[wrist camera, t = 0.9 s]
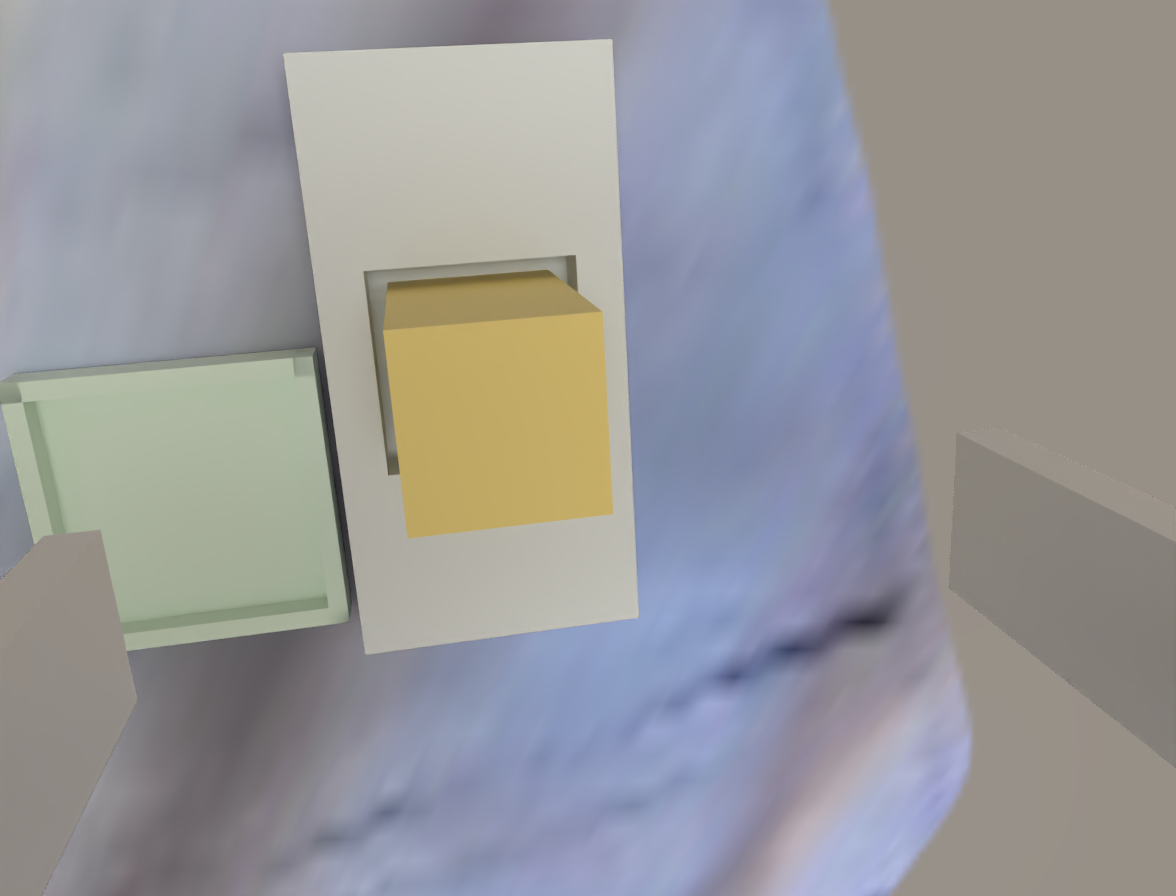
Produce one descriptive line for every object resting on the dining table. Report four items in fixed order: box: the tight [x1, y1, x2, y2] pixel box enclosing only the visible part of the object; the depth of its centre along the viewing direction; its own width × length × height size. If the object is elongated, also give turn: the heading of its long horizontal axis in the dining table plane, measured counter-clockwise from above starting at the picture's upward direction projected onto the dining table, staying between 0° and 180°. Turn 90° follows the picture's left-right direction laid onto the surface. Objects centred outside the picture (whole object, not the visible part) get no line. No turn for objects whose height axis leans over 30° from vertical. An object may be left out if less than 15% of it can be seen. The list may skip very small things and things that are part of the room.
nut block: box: [383, 270, 613, 538], centre depth 27 cm, size 5×5×9 cm
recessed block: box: [283, 39, 639, 655], centre depth 31 cm, size 9×18×3 cm, turn 3°
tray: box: [0, 347, 352, 651], centre depth 32 cm, size 9×9×2 cm
